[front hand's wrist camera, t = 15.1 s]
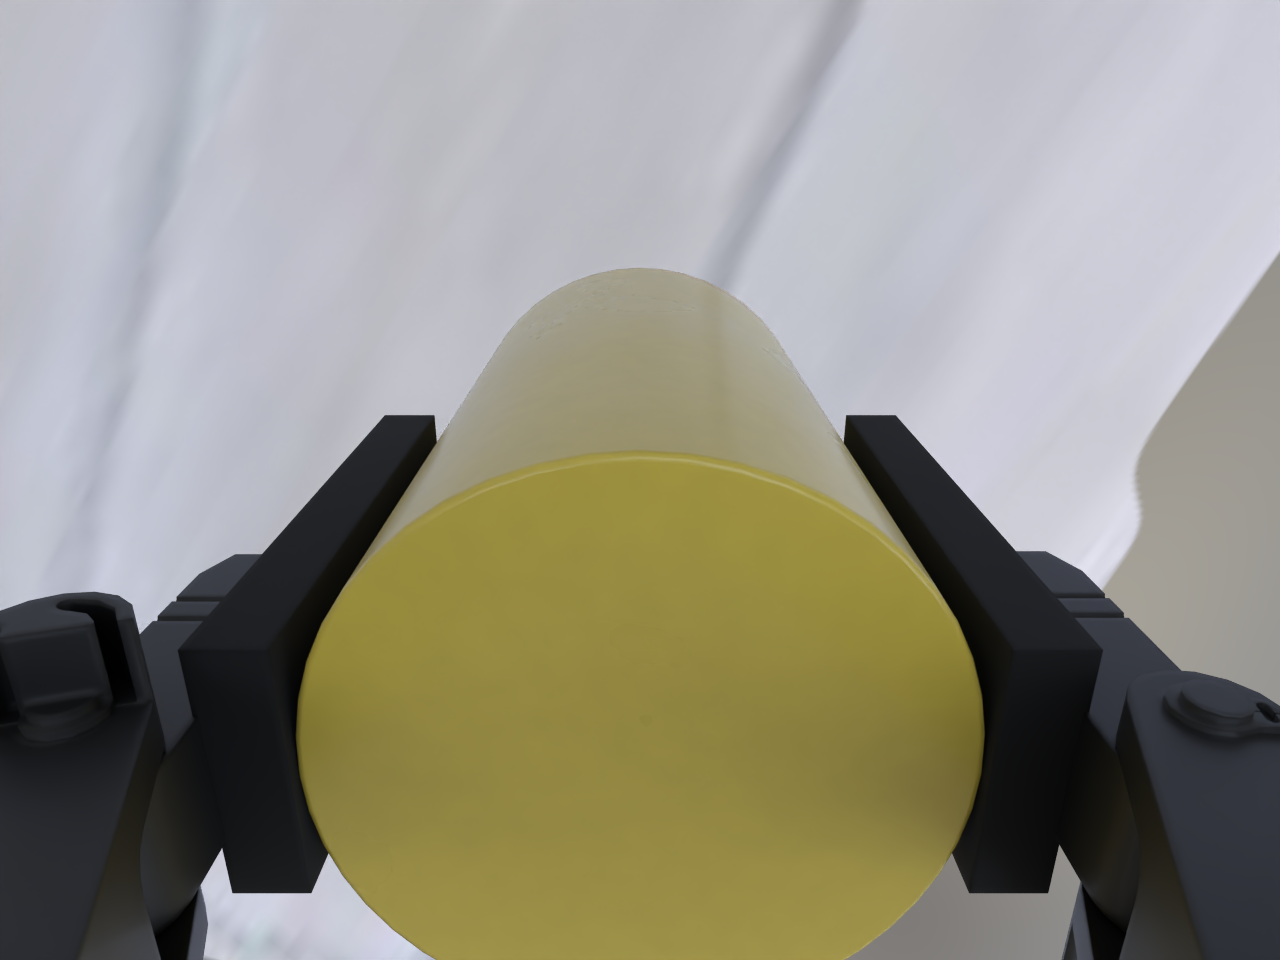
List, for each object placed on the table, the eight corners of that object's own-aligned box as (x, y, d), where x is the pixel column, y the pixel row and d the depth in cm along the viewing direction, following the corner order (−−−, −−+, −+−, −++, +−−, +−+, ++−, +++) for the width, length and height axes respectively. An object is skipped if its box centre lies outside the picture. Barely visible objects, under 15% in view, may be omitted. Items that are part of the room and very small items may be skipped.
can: (512, 591, 19) (387, 1044, 9) (447, 292, 16) (197, 506, 7) (811, 555, 18) (985, 987, 9) (789, 244, 16) (992, 404, 7)
